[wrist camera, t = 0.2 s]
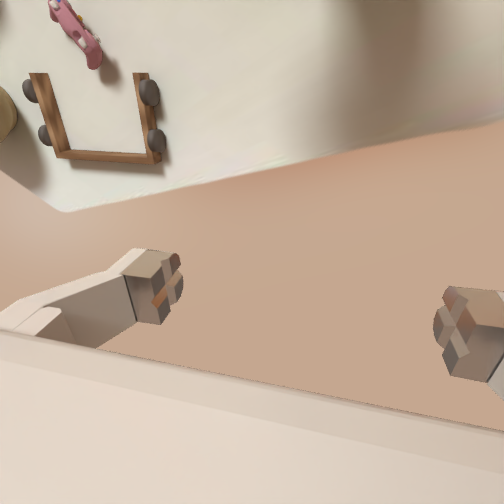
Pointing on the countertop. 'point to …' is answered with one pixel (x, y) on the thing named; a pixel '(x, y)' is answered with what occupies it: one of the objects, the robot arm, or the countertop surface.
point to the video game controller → (76, 31)
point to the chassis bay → (55, 136)
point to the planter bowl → (6, 114)
